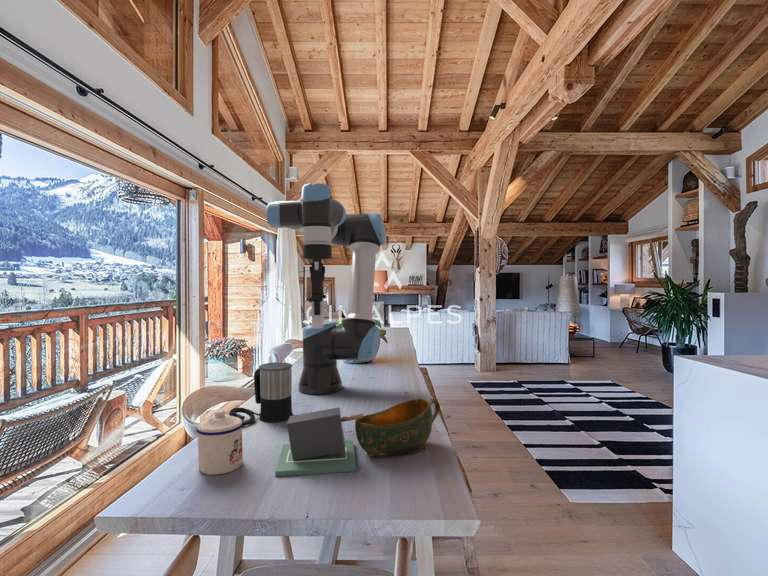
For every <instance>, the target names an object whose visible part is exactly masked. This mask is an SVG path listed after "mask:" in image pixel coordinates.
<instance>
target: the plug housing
mask: <svg viewBox="0 0 768 576" xmlns="http://www.w3.org/2000/svg"><path fill="white" fill-rule="evenodd" d="M364 416H365V415H364V414H363V413H356V414H352V415H347V416H342V413H341V408H340V407H334V408H329V409H322V410H317V411H311V412H305V413H300V414H293V416H290V417H289V419H288V420H287V423H286V427H287V432H288V438H289V444H290V446H291V452H292V458H293V461H297V460H302V459H307V458H313V457H318V456H323V455H329V454H334V453H339V452H345V441H346V440H345V439H346V438H345V434H344V433H345V431H344V428H343V426H344V425H343V422H350V421H355V420H356V419H362V418H363V417H364Z"/></svg>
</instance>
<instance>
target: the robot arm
mask: <svg viewBox="0 0 768 576" xmlns="http://www.w3.org/2000/svg"><path fill="white" fill-rule="evenodd" d="M265 217H266V218H265V219H266V223H267V224H268V225H269V227H271V228H277V229H278V228H279V229H282V228H287V229H292V230H295V231H298V232H299V234H300V235H301V236H302V243H304V244H303V245H302V258H303V259H304V260H312V261H311V263H310V265H311V266H309V273H310V276H309V277H310V279H309V280H310V281H311V296H310V297H308V302H309V303H311V324H308V325H306V326H304V327H303V330H302V338H301V339H302V362H303V364H302V365H303V367H302V370H301V374H300V377H299V381H298V391H299V392H300V393H301V394H308V395H327V394H333V393H337V392H339V391H341V390H342V389H343V380H342V377H341V374H340V372H339V370H338V369H339V368H338V365H337V364H338V363H337V361H338V360H339V361H340V360H341V361H359V362H362V361H372V360H373V359H374V358H375V357H376V355H377V353H378V351H379V348H380V342H381V329H380V328H379V326H377V322H376V320H375V319H374V318H373V307H374V306H373V303H374V290H375V289H374V287H375V275H376V274H375V273H376V261H377V260H376V257H377V254H378V253H380V251H381V246H383V245H386V243H387V237H386V233H387V232H386V228H385V222H384V220H383V217H382V216H381V214H379V213H370V212H368V213H355V214H354V213H353V214H347V211H346V208H345V206H344V205H343V204H342V203H341V202H340V201H338V200H336V199H334V198H332V191H331V187H330V185H328V184H326V183H320V182H312V183H305V184H304V185H303V186H302V187H301V197H300V199H299V200H278V201H271V202H269V203H268V204H267V205H266V208H265ZM331 244H332V245H336V246H343V247H348V249H349V250H350V252H351V254H352V255H351V265H350V267H351V268H350V269H351V270H350V277H349V278H350V280H349V291H348V292H349V293H348V304H347V314H346V316H345V317H344V318H343V319H342V320H341V321H342V323H341V325H337V322H336V321H326V322H325V299H327V295H326V294H325V292H324V281H325V273H326V266H324V264H323V260H330V259H332V257H333V255H332V253H333V251H332V248H333V247H332V245H331Z"/></svg>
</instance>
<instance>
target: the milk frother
mask: <svg viewBox="0 0 768 576" xmlns="http://www.w3.org/2000/svg"><path fill="white" fill-rule="evenodd" d="M292 367H293V363H289V362H284V361H283V362H282V361H281V362H280V361H279V362H267V363H263V364H259V366H258V368H256V369H255V371H254V374H253V384H254V385H253V386H254V387H253V388H254V396H255V397H254V398H255V401H254V402H255V404H257V405H259V404H260V413H258V412H255V411H252V410H250V409H249V408H245V407H234V408H232V409H231V410H230V411H229V413H228V415H230V416H234V417H238V418H240V419H241V420H242V422H243V426H248V425H251V424H253V423H254V422H255V420H256V416H259V420H260V421H262V422H265V423H268V422H269V423H278V422H283V421H288V420H289V417H290V416H293V415H294V414H293V406H292V405H293V404H292V397H293V396H292V392H293V391H292V387H293V385H292V384H293V383H292V379H293V377H292V373H293V372H292ZM239 413H240V414H239ZM241 413H243V414H246V415H247V416H249V419H248V420H245V418H246V416H245V415H242V414H241Z"/></svg>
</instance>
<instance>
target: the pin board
mask: <svg viewBox="0 0 768 576" xmlns="http://www.w3.org/2000/svg"><path fill="white" fill-rule="evenodd" d="M354 446H355V445H354V440H352V439H351V440H345V452H339V453H334V454H329V455H323V456H318V457H313V458H307V459H302V460H297V461H293V458H292V452H291V446H290V443H285V444H284V443H283V444H282V448H281V450H280V451H281V452H280V454H279V459H278V461H277V464H276V469H275V470H274V472H275V474H274V477H288V476H304V475H319V474H320V475H321V474H322V475H323V474H333V473H350V472H351V473H352V472H356V471H357V464H356V455H355V447H354Z"/></svg>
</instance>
